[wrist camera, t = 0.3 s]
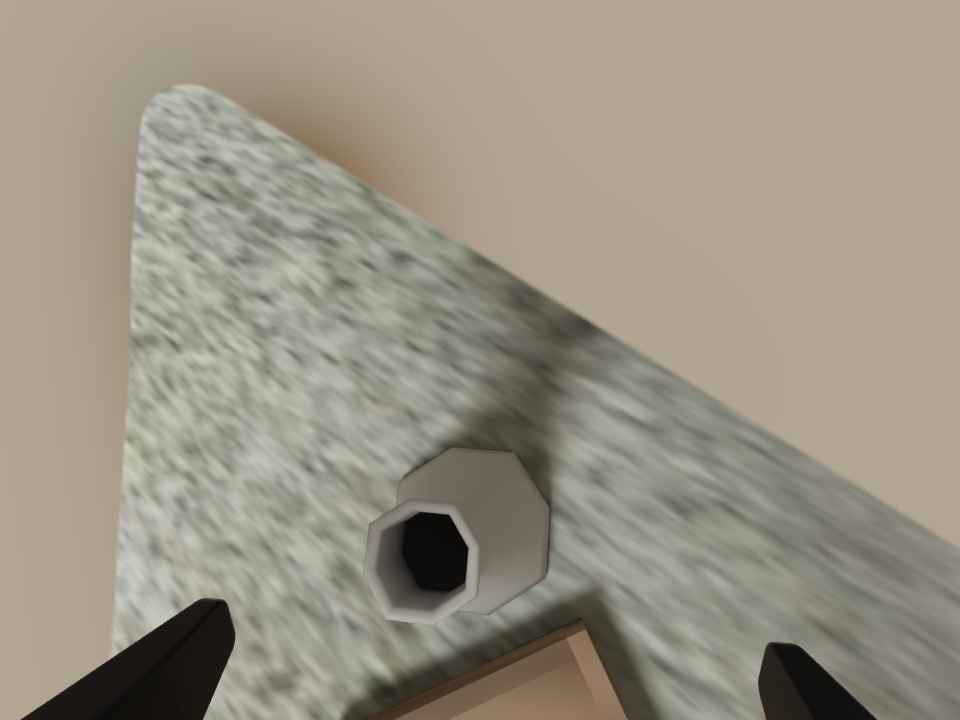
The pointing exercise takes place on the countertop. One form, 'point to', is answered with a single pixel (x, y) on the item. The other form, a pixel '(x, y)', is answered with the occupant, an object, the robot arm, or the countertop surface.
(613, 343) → the countertop surface
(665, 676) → the countertop surface
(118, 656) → the robot arm
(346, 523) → the countertop surface
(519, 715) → the walnut tray
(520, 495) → the flask
